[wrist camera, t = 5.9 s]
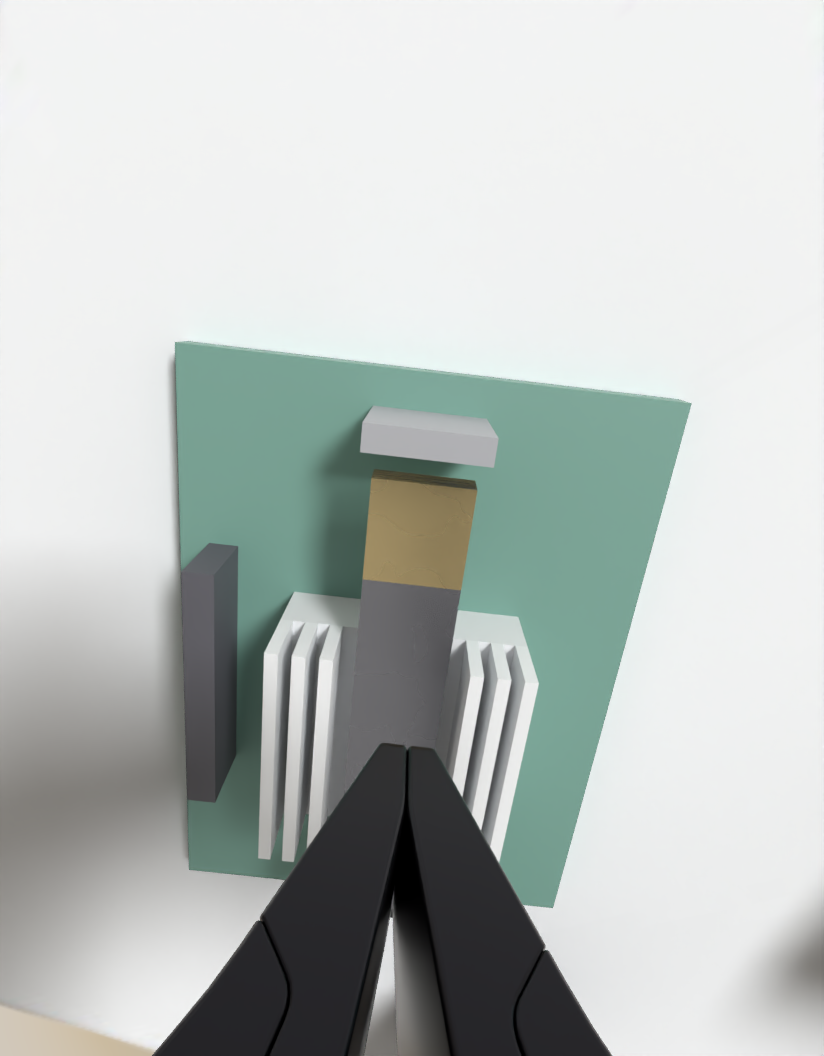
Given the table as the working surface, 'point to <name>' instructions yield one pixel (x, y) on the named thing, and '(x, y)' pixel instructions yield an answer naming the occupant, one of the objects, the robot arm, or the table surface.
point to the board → (336, 584)
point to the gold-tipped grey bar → (407, 610)
